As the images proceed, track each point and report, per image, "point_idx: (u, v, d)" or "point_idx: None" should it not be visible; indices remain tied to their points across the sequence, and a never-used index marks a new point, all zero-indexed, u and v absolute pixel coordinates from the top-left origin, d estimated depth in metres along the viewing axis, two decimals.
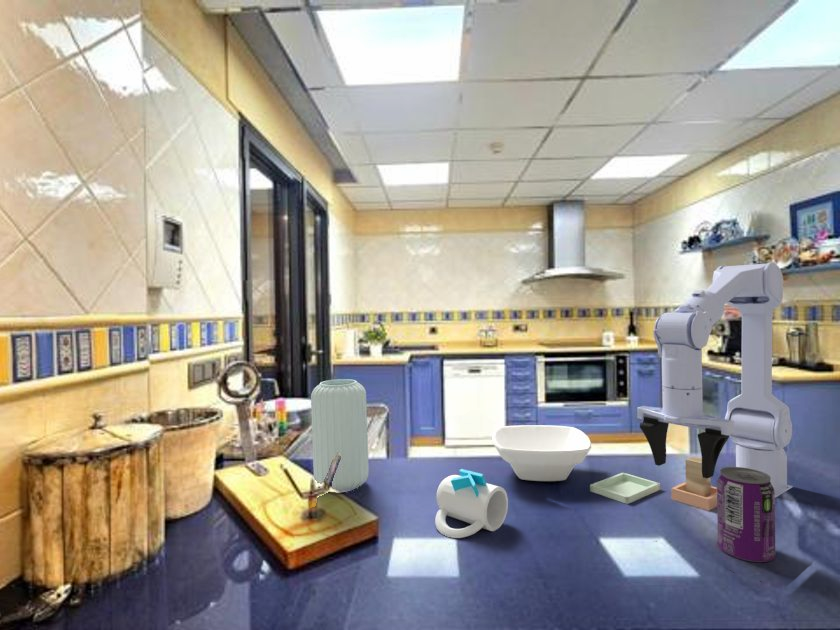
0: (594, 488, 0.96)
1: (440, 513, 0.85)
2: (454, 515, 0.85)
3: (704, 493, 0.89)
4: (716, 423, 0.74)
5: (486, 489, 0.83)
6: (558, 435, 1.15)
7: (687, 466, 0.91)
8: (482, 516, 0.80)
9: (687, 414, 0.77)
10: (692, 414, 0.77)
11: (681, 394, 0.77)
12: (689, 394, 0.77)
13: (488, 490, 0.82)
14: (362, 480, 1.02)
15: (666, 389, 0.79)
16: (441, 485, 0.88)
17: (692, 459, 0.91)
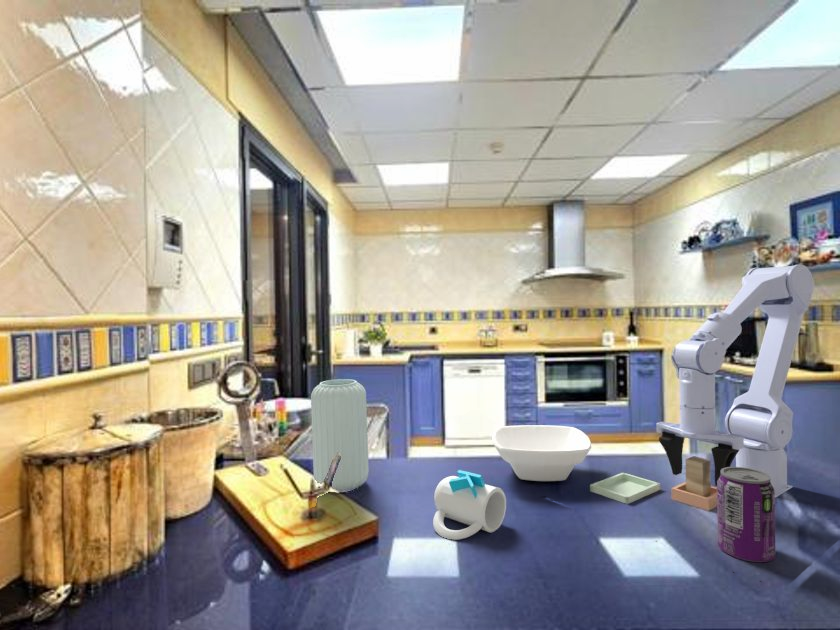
0: (594, 488, 0.96)
1: (438, 514, 0.85)
2: (452, 516, 0.85)
3: (704, 493, 0.89)
4: (728, 439, 0.85)
5: (484, 490, 0.82)
6: (558, 435, 1.15)
7: (687, 466, 0.91)
8: (480, 517, 0.80)
9: (702, 430, 0.88)
10: (706, 430, 0.88)
11: (697, 413, 0.88)
12: (704, 413, 0.88)
13: (486, 491, 0.82)
14: (362, 480, 1.02)
15: (683, 408, 0.90)
16: (439, 486, 0.87)
17: (692, 459, 0.91)
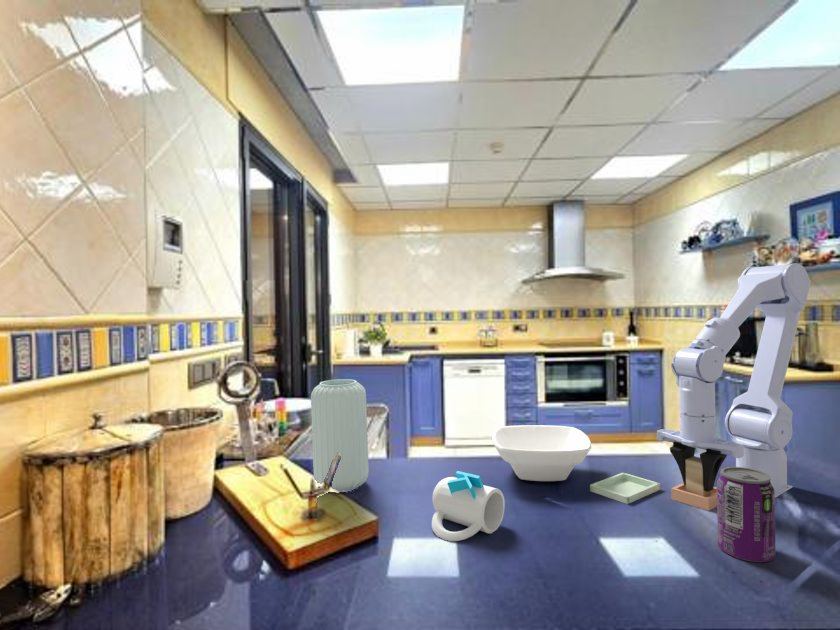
0: (594, 488, 0.96)
1: (436, 516, 0.84)
2: (451, 518, 0.84)
3: (704, 493, 0.89)
4: (728, 447, 0.85)
5: (483, 491, 0.82)
6: (558, 435, 1.15)
7: (687, 466, 0.91)
8: (479, 518, 0.80)
9: (702, 438, 0.88)
10: (706, 439, 0.88)
11: (697, 421, 0.88)
12: (704, 421, 0.88)
13: (485, 492, 0.81)
14: (362, 480, 1.02)
15: (683, 416, 0.90)
16: (437, 487, 0.87)
17: (692, 459, 0.91)
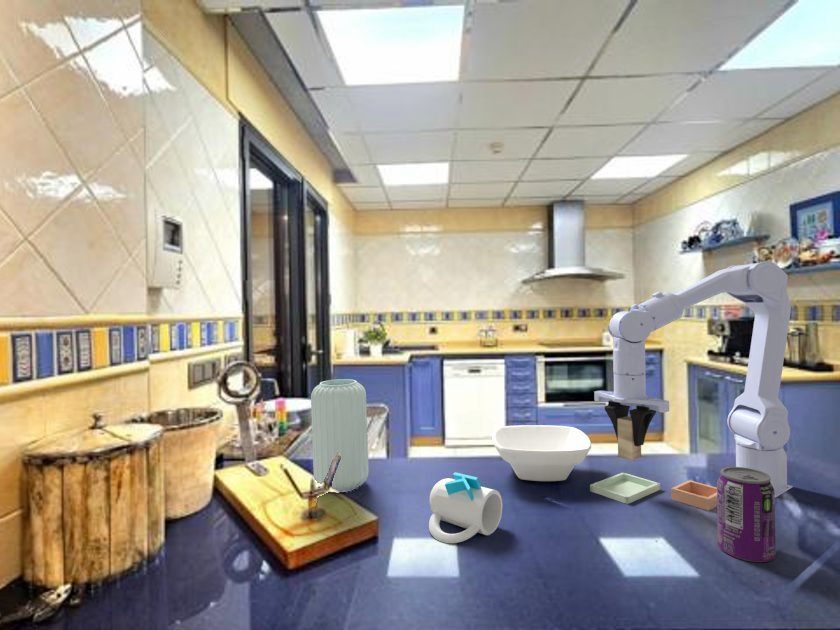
0: (594, 488, 0.96)
1: (434, 518, 0.83)
2: (448, 519, 0.84)
3: (633, 449, 0.93)
4: (654, 403, 0.90)
5: (481, 492, 0.81)
6: (558, 435, 1.15)
7: (619, 425, 0.95)
8: (477, 520, 0.79)
9: (632, 395, 0.92)
10: (636, 396, 0.92)
11: (627, 379, 0.93)
12: (634, 379, 0.92)
13: (483, 494, 0.81)
14: (362, 480, 1.02)
15: (616, 375, 0.95)
16: (434, 489, 0.86)
17: (623, 418, 0.95)
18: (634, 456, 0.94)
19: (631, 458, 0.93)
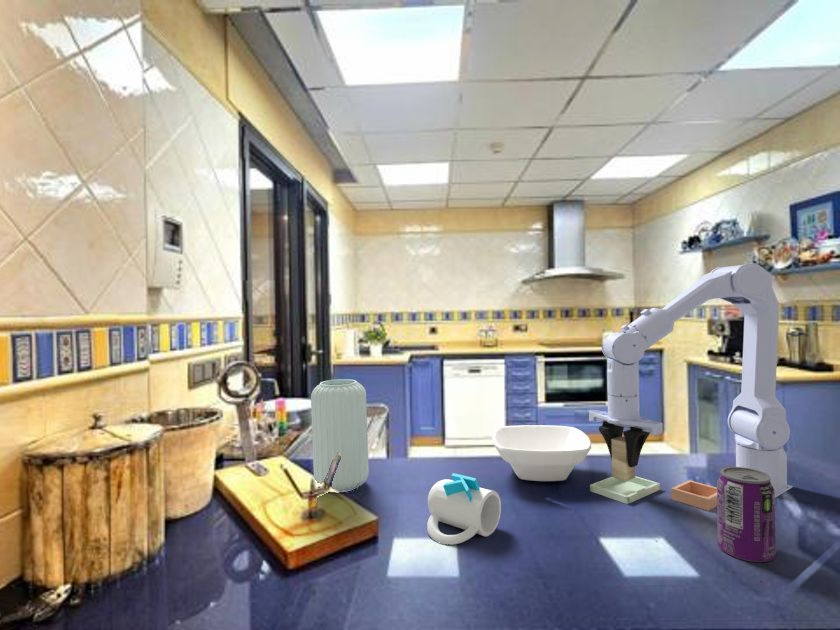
0: (594, 488, 0.96)
1: (432, 519, 0.83)
2: (446, 521, 0.83)
3: (627, 470, 0.94)
4: (648, 425, 0.91)
5: (480, 493, 0.81)
6: (558, 435, 1.15)
7: (613, 445, 0.96)
8: (476, 521, 0.79)
9: (626, 417, 0.93)
10: (630, 417, 0.93)
11: (621, 401, 0.93)
12: (627, 401, 0.93)
13: (482, 494, 0.81)
14: (362, 480, 1.02)
15: (610, 396, 0.95)
16: (432, 490, 0.86)
17: (617, 439, 0.96)
18: (628, 477, 0.94)
19: (625, 479, 0.94)
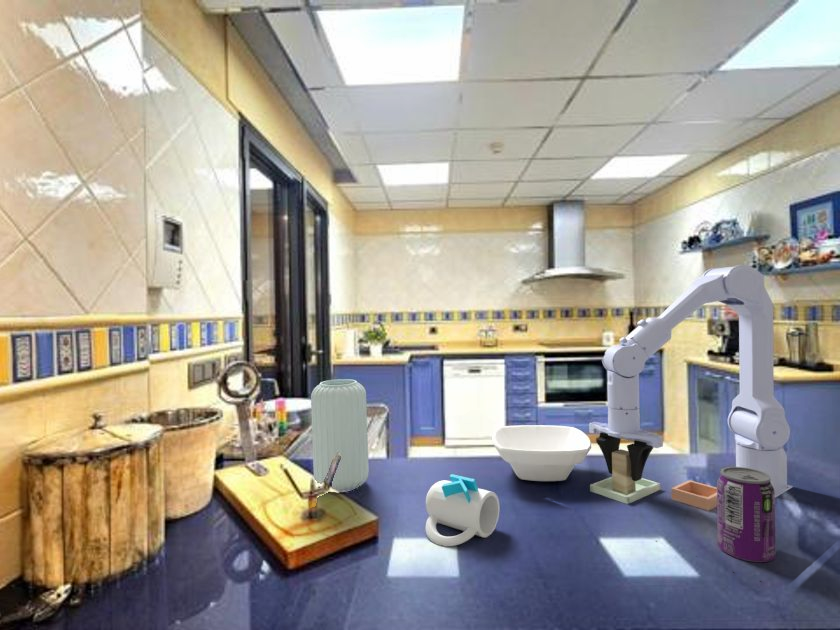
0: (594, 488, 0.96)
1: (430, 520, 0.83)
2: (445, 522, 0.83)
3: (627, 483, 0.94)
4: (648, 438, 0.91)
5: (478, 494, 0.80)
6: (558, 435, 1.15)
7: (613, 458, 0.96)
8: (475, 522, 0.78)
9: (626, 430, 0.93)
10: (630, 430, 0.93)
11: (621, 413, 0.93)
12: (628, 413, 0.93)
13: (480, 495, 0.80)
14: (362, 480, 1.02)
15: (610, 409, 0.95)
16: (431, 491, 0.85)
17: (618, 452, 0.96)
18: (628, 490, 0.94)
19: (625, 492, 0.94)
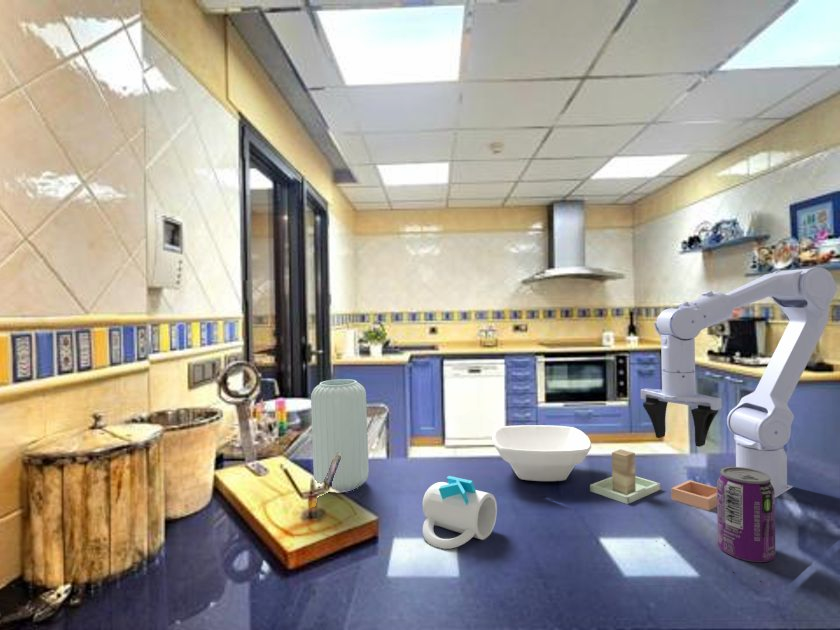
0: (594, 488, 0.96)
1: (427, 523, 0.82)
2: (442, 524, 0.82)
3: (627, 483, 0.94)
4: (706, 400, 0.89)
5: (476, 496, 0.80)
6: (558, 435, 1.15)
7: (613, 458, 0.96)
8: (473, 525, 0.77)
9: (683, 393, 0.92)
10: (687, 393, 0.92)
11: (677, 377, 0.92)
12: (684, 376, 0.92)
13: (478, 497, 0.79)
14: (362, 480, 1.02)
15: (665, 373, 0.94)
16: (427, 493, 0.84)
17: (618, 452, 0.96)
18: (628, 490, 0.94)
19: (625, 492, 0.94)
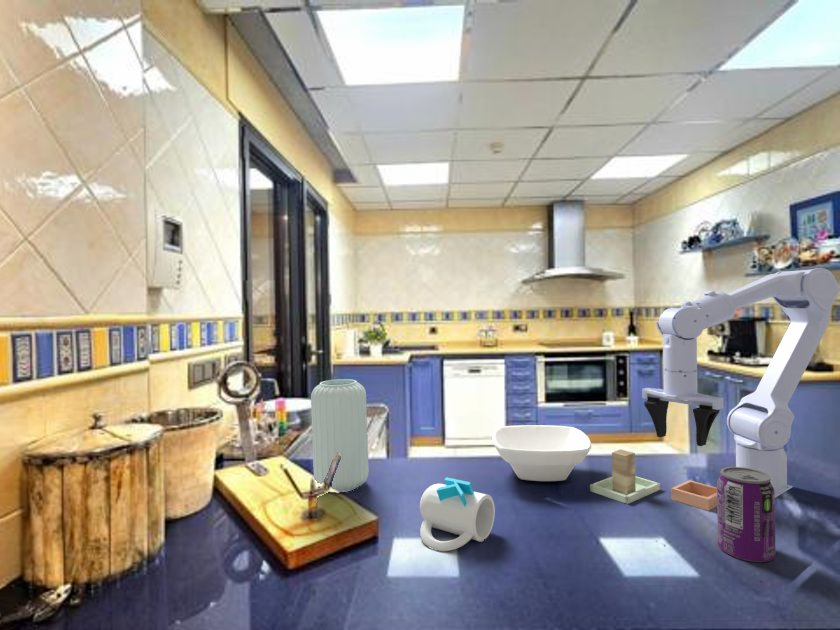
0: (594, 488, 0.96)
1: (425, 525, 0.81)
2: (440, 526, 0.81)
3: (627, 483, 0.94)
4: (708, 400, 0.89)
5: (474, 498, 0.79)
6: (558, 435, 1.15)
7: (613, 458, 0.96)
8: (471, 526, 0.77)
9: (684, 393, 0.92)
10: (688, 393, 0.92)
11: (679, 376, 0.92)
12: (686, 376, 0.92)
13: (476, 499, 0.79)
14: (362, 480, 1.02)
15: (667, 372, 0.94)
16: (425, 495, 0.83)
17: (618, 452, 0.96)
18: (628, 490, 0.94)
19: (625, 492, 0.94)
